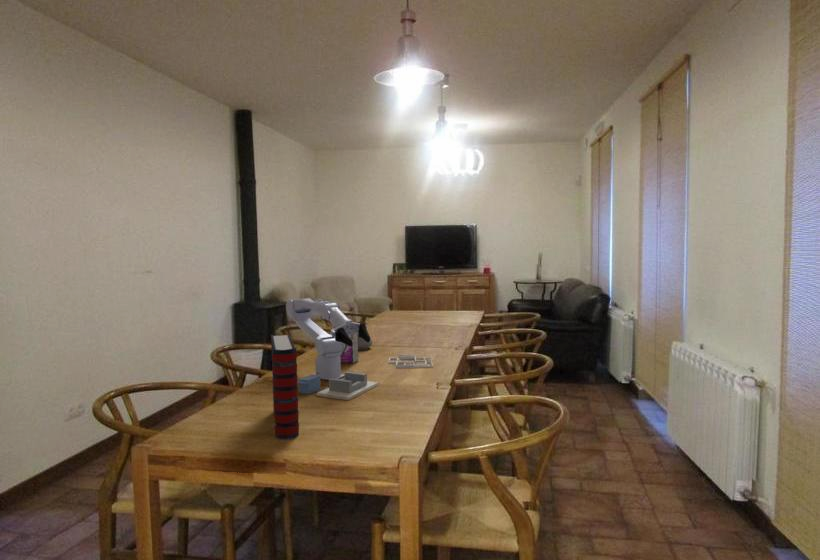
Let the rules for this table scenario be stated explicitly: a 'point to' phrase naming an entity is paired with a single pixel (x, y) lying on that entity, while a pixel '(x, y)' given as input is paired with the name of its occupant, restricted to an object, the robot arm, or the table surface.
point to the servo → (309, 384)
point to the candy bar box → (350, 349)
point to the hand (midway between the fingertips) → (360, 342)
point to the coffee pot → (363, 341)
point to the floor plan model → (410, 362)
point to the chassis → (347, 386)
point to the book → (285, 387)
